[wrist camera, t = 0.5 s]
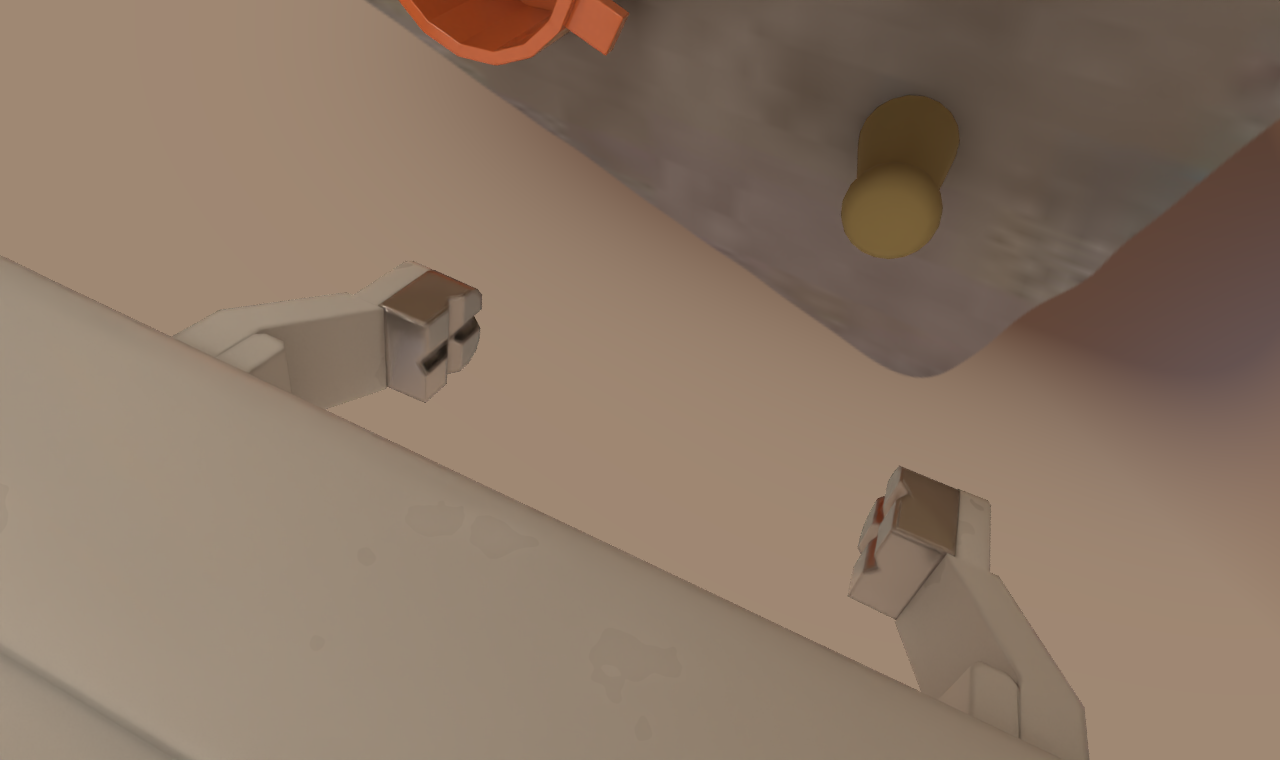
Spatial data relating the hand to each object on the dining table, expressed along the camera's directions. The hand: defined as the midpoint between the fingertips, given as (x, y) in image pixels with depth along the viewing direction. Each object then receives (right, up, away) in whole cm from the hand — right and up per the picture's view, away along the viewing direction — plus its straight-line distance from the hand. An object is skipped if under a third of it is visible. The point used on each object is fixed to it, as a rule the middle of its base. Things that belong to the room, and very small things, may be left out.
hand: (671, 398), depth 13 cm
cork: (+16, +15, +33) cm, 40 cm away
